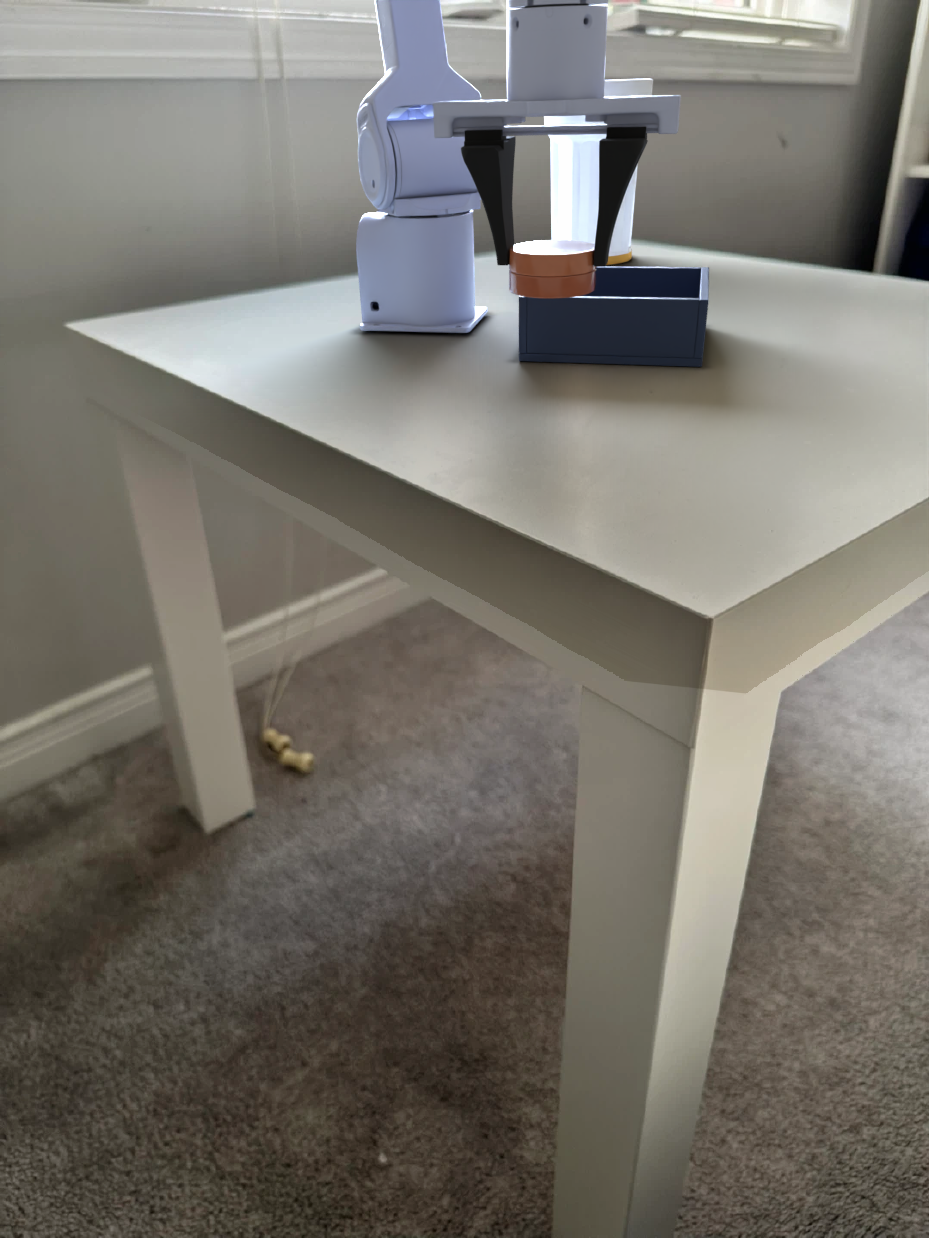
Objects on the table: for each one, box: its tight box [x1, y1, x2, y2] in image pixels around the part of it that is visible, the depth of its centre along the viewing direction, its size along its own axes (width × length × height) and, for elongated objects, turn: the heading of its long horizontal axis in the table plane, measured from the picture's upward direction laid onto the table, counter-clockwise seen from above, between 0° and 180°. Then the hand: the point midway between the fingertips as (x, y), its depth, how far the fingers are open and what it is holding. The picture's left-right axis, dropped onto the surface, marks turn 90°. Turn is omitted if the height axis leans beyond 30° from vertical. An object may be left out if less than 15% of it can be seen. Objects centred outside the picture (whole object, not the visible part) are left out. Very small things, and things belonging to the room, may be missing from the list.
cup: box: [543, 78, 654, 266], centre depth 99 cm, size 11×11×17 cm
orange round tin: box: [508, 239, 596, 299], centre depth 59 cm, size 6×6×3 cm
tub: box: [518, 265, 710, 368], centre depth 70 cm, size 13×12×5 cm
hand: (552, 263), depth 58 cm, fingers closed on orange round tin, 5 cm apart
